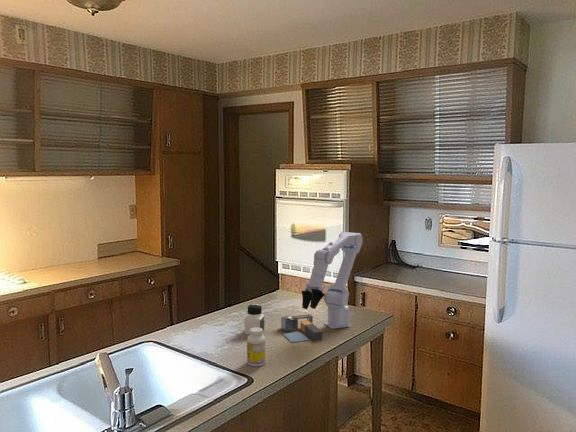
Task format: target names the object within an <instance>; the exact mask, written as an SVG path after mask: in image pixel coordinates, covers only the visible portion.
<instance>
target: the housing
mask: <svg viewBox="0 0 576 432" xmlns="http://www.w3.org/2000/svg"><path fill="white" fill-rule="evenodd" d="M280 318H281V319H280V328H281V330H283V332H285V333H286V332H296V330H299V320H304V319H306V321H307V320H308V321H309V322H311V323H312V324H313V325H314V322H313V321H314V320H313V319H314V317H313V315H312V314H311V313H308V314H299V315H285V316H282V317H280Z"/></svg>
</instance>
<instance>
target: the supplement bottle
mask: <svg viewBox="0 0 576 432" xmlns="http://www.w3.org/2000/svg"><path fill="white" fill-rule="evenodd" d="M263 333H264V331H263V329H262V328H258V327H255V328H251V329H250V335H248V336H247V338H246V339H247V340H246V343H247V344H246V359H247V360H246V363H247V364H248V365H249V366H251V367H262V366H264V364H265V363H266V337H265V335H264V334H263Z"/></svg>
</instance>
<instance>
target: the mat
mask: <svg viewBox="0 0 576 432" xmlns="http://www.w3.org/2000/svg"><path fill="white" fill-rule="evenodd" d="M282 336H284V337H285V338H286V339H287V340H288V341H289V342H290V343H291V344H294V343H300V342H301V343H302V342H308V341H310V338H308V336H306V334H305V333H303V332H301V331H293V332H289V333H286V332H285V333H282Z"/></svg>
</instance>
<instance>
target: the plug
mask: <svg viewBox="0 0 576 432" xmlns="http://www.w3.org/2000/svg"><path fill="white" fill-rule="evenodd" d="M299 326H300V327H299V328H300V330H301V331H302V333H303V334H304V335H307V337H309V339H311V340H313V341H314V342H317V341H323V330H321V329H320V328H319V327H317V326H316V325H314V323H313V324H312V323H311V322H309V321H308V320H307V319H306V320H301V321H300V325H299Z"/></svg>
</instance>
